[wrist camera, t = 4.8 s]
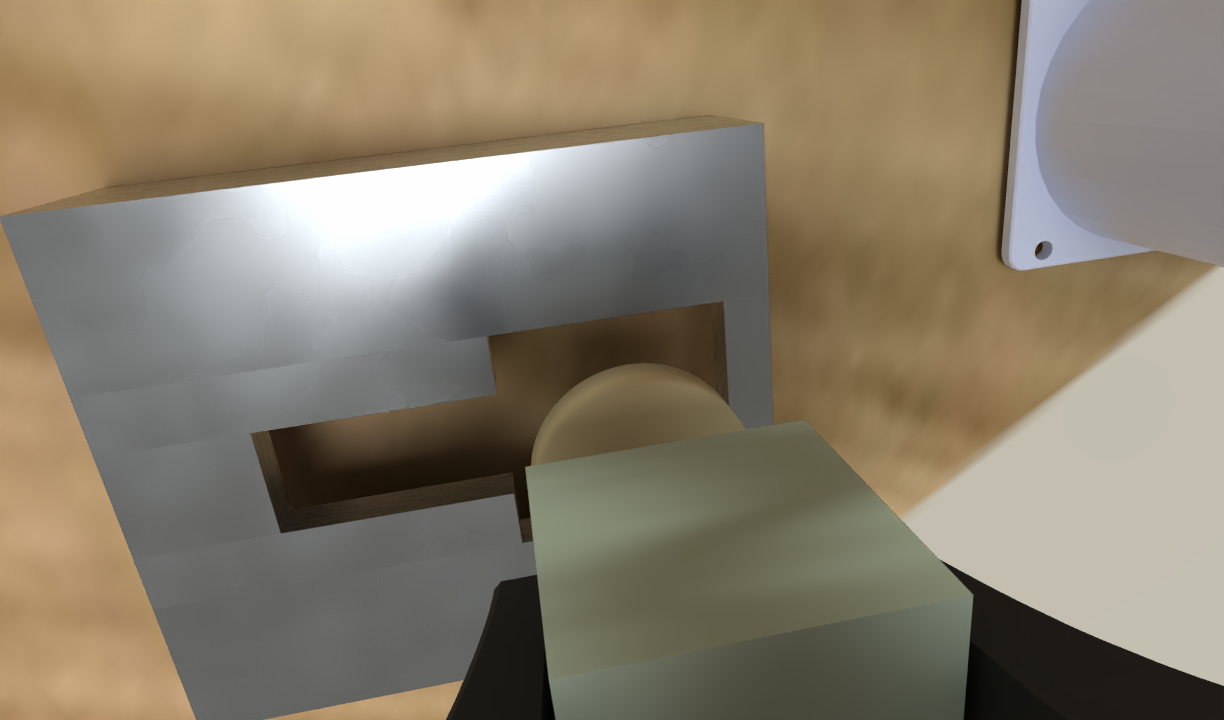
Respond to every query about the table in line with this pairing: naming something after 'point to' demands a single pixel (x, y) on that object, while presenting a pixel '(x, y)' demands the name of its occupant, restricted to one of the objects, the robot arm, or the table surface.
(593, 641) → the peg
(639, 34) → the table surface
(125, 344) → the keyhole bracket
